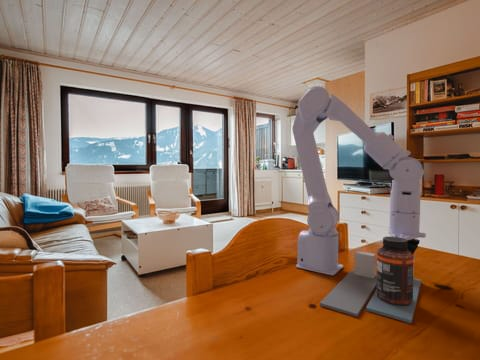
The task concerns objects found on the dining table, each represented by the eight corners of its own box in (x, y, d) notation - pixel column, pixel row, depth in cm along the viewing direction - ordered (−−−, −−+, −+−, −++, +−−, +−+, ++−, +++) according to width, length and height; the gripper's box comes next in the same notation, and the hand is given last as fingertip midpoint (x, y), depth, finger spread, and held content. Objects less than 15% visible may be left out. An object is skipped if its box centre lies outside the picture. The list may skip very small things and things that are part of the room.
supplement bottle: (410, 295, 53) (412, 237, 53) (415, 309, 48) (417, 244, 47) (375, 289, 55) (377, 233, 55) (376, 302, 50) (378, 240, 50)
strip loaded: (365, 310, 48) (366, 279, 48) (386, 274, 65) (387, 251, 65) (411, 323, 44) (412, 289, 44) (421, 282, 61) (421, 257, 61)
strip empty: (319, 305, 50) (320, 275, 49) (351, 272, 67) (352, 249, 66) (357, 317, 46) (358, 284, 46) (381, 278, 63) (381, 254, 63)
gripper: (424, 217, 53) (421, 287, 53) (428, 209, 65) (426, 267, 65) (383, 214, 57) (381, 278, 58) (394, 207, 69) (392, 261, 69)
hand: (402, 272), depth 62 cm, fingers closed on strip loaded, 2 cm apart
